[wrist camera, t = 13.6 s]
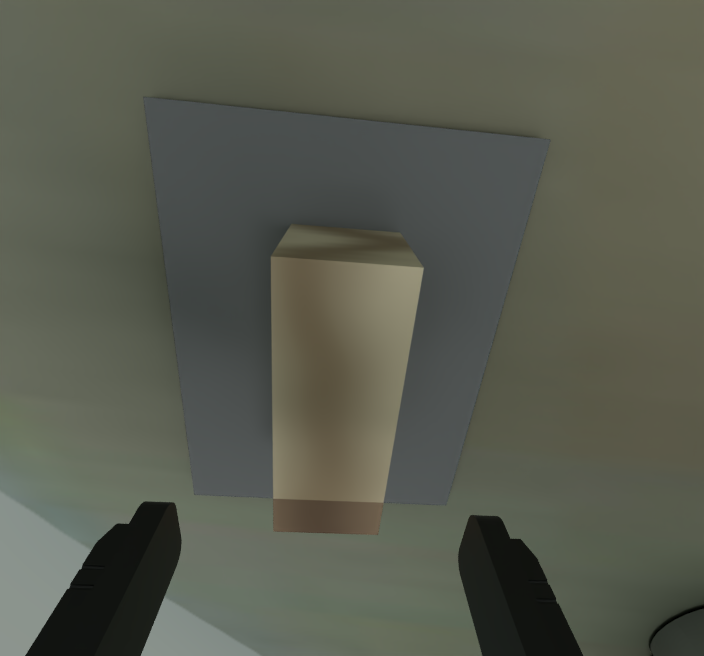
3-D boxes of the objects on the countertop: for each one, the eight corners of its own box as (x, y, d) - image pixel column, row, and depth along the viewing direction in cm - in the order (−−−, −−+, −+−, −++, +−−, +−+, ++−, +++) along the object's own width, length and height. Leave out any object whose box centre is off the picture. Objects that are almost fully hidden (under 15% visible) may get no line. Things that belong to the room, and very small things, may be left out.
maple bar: (400, 232, 16) (424, 267, 11) (370, 450, 21) (378, 534, 16) (291, 224, 15) (270, 256, 11) (288, 447, 21) (273, 531, 16)
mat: (443, 497, 23) (446, 505, 23) (197, 486, 23) (194, 494, 22) (543, 139, 15) (550, 139, 14) (151, 98, 14) (143, 96, 13)
